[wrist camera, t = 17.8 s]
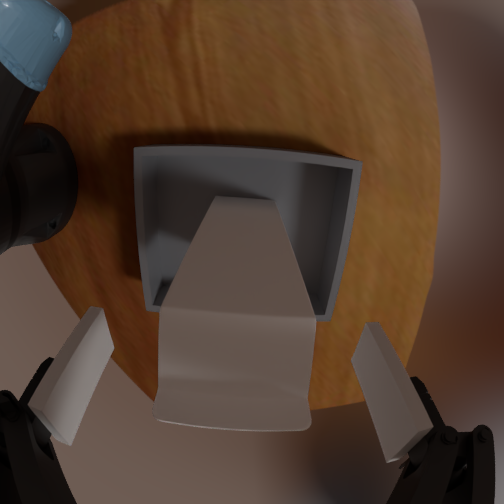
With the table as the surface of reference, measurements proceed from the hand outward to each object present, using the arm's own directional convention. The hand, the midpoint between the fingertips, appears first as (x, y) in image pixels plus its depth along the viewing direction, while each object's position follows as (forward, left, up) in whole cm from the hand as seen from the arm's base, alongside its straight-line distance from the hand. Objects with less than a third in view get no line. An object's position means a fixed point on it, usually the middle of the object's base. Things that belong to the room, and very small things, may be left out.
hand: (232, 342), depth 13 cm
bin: (0, 0, -18) cm, 18 cm away
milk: (0, 0, -17) cm, 17 cm away
